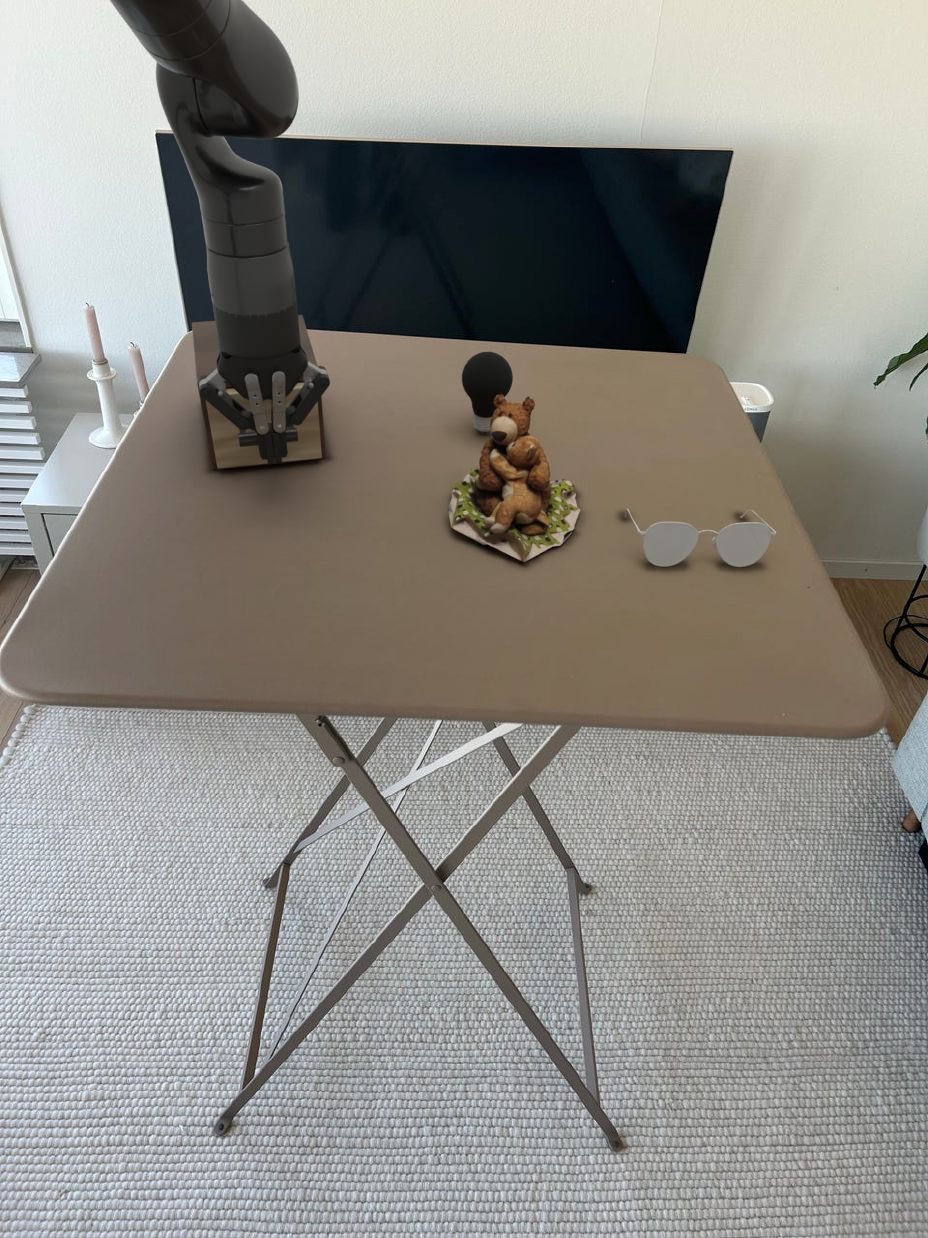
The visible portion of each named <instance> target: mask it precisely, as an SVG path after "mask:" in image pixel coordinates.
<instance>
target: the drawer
mask: <svg viewBox="0 0 928 1238" xmlns="http://www.w3.org/2000/svg"><path fill="white" fill-rule="evenodd" d="M303 385H304V381H298V383H297V384H296V386H295V387H294V389H293V390H292V392H291V393H290V394H289V395H288V396H286V408H287V407H289V405H290V404H291V402H292V401H293V399H294V398H295V397H296V395H297V394H298V392H299V391H300V389H301V388H302V387H303ZM226 392H227V393H228V394H229V395H231V396H232V397H233V398H234V399H235V400H236V401H237V402H238V403H239V404H241V405H242V406H243V407H244V408H245V409H246V410H247V411H250V412H252V408H251V404H250V400H247V399H245V398H243V397H242V396H241V395H240V394H239V393H238V392H237V391H236V390H235V389H234V388H233V387H227V388H226ZM263 403H264V407H265V412H266V417H267V422H268V423H269V425H270V423H272V421H271V400H269V399H267V400H264V401H263ZM206 404H207V410H208V416H209V422H210V427H211V433H212V439H213V445H214V450H215V456H216V462H217V468H218V469H219V468H229V467H239V466H248V465H258V464H267V463H268V461H267V459H265V460H262V458H261V457H260V453H259V447H258V440H257V434H256V432H255V431H253V430H250V429H247V430H240V429H239V428H237V427H236V426H235V425H234V424H233V423H232V422H231V421H229V420H228V419H227V418H226V417H225V416H224V415H222V414H221V413H220V412H219V411H218V410H217V409H216V408H214V407H213V406H212V405H211V404H210V403H209V402H207V401H206ZM270 430H271V429H270ZM286 441H287V449H288V454H287V457H284V458H282V462H287V461H296V460H306V459H315V458H322V454H321V441H320V428H319V415H318V402H317V403H316V404H315V406H314V407H313V409H312V410H311V411H310V413H309V414H308V415H307V417H306V418H305V420H304V421H303V422H302V424H300V425H294V424H293V425H291V426H289V427H288V428H287V429H286ZM274 460H275V459H274ZM306 461H307V460H306ZM287 463H288V462H287ZM258 466H259V465H258ZM239 468H240V467H239Z"/></svg>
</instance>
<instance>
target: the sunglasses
mask: <svg viewBox="0 0 928 1238" xmlns="http://www.w3.org/2000/svg"><path fill="white" fill-rule="evenodd" d="M749 512H751V513H753V514H754V515H755V516H756V517H758V518H759V519H760V521H761V522H758V521H757V522H756V521H753V522H752V521H751V522H750V521H748V522H746V521H745V522H736V523H731V524H728V525H726V526H725V527H723V528H722V529H720V530H719V531H716V530H713V529H703V530H700V531H698V530H697V529H696V527H694V526H693V525H691V524H690V523H687V522H681V521H660V522H655V523H652V524H651V525H650V526H648V527H647V529H646V530H645V531H641V530H640V528H639V526H638V524H637V523H636V522H635V520H634V518H633V516H632V514H631V512H630V510H629V508H626V509H625V512H624V518H626V517H627V514H628V515H629V516H630V519H631V520H632V522H633V525H634V528H635V529H636V531H637V534H639V535H640V536H641V535H642V536H643V539H642V547H643V552H644V556H645V558H646V559H647V561H648V562H649V563H650V564H652V565H654V566H656V567H662V568H666V567H672V566H675V565H677V564H679V563H681V562H683V561H684V560H685V559H686V558H687V557H688V556H690V554H691V553H692V552H693V550H694V548H695V547H696V545H697V544H698V542H699V534H702V533H704V532H705V533H706V532H710V533H714V534H716V536H713V537H712V539H711V544H712V548H713V550H714V551H717V552H718V554H719V557H720V558H721V559H722V560H723V561H724V563H726V564H727V565H730V566H732V567H736V568H743V567H744V568H745V567H749V566H752V565H753V564H756V563H757V562H758V561H759V560H760V559H761V558H762V557H763V556H764V554H765V553H766V551H767V549H768V547H769V545H770V543H771V538H772V536H777V530H775V529H774V528H773V527H771V525H769V524H768V523H767V522H766V521H765V520H764V519H763V518H762V517H760V516H759V515H758V513H757V512H756V511H755V510H753V509H748V510H746V511H745V512H744V513H743V514H742V515H740V519H743V518H744V517H745V516H746V514H748V513H749Z"/></svg>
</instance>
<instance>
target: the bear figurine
mask: <svg viewBox="0 0 928 1238" xmlns="http://www.w3.org/2000/svg"><path fill="white" fill-rule="evenodd" d="M494 405H495V407H496V410H495V411H494V413H493V416H492V418H491V421H490V429H491V430H490V431H489V432H490V438H489V440H488V441H485V443H484V444H483V447H482V450H481V451H480V452H481V455H480V457H479V460H478V462H479V463H478V464H479V467H474V468H470V472H469V473H467V474H466V475H465V477H464V478H463V480H462V481H461V482H459V483H453V484H452V486H451V487H452V488H453V490H452V491H451V500H450V503H449V505H448V506H447V512H448V518H449V522H450V523H449V524H450V527H451V528H452V529H453V530H455V531H456V532H459V533H461V534H462V535H464V536H466V537H468V538H470V539H472V540H473V541H476V542H477V543H479V544H480V545H483V546H486V545H489V546H490V547H492V548H495V549H497V550H498V551H501V552H502V553H504V554H507V555H509V556H511V557H512V558H514V559H517V560H519V561H521V562H522V563H526V562H528V561H529V560H531V559H533V558H534V557H536V556H539V555H540V554H541V553H543V552H546V551H548V549H551V548H552V547H561V545H562V544H564V542H565V541H566V540H567V539H568V538H569V536H570V535H571V534H573V531H574V530H575V525H576V522H577V520H578V518H579V515H580V513H581V509H580V508H579V507H578V505H577V500H576V496H577V493H576V492H574V491H575V490H576V486H575V485H574V483H572V481H570V480H569V479H566V477H563V478H562V479H556V480H550V477H551V472H552V469H551V468H550V463H549V461H548V460H547V456H546V454H545V451H544V449H543V447H542V445H541V443H540V441H539V439H538V438H535V437H534V436H532V435H530V433H529V430H530V427H531V416H532V413H533V410H534V409H535V406H536V401H535V400H534V398H531V397H530V396H529V395H528V396H527V397H525V398H524V400H523V401H522V402H521V403H520V402H516V401H507V398H506V397H504V396H503V395H502V394H499V395H497V396H496V397H495V399H494ZM569 532H570V533H569ZM567 533H569V534H568V536H567V537H565V535H566V534H567Z"/></svg>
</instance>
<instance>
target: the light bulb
mask: <svg viewBox="0 0 928 1238" xmlns="http://www.w3.org/2000/svg"><path fill="white" fill-rule="evenodd" d="M513 381H514V376H513V370H512V367H511V365H510V363H509V362H508V360H507V359H505V357H503V356H502V355H501V354H499V353H496V352H493V351H481V352H479V353H476V354H474V355H473V356H472V357H470V358H469V359H468V360H467V361H466V363H465V364H464V366H463V369H462V374H461V384H462V388H463V391H464V392H465V393H466V395H467V396H468V398H469V400H470V403H471V409H472V411H473V414H474V417H473V426H474V429H475V430H477V431H479V432H480V433H482V434H486V433H488V432H490V430H491V429H490V421H491V418H492V416H493V413H494V411H495V410H496V407H495V405H494V399H495V397H496V396H497V395H499V394H502V395H503V396H504V398H506V396H507V395H509V393H510V391H511V388H512V385H513Z"/></svg>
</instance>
